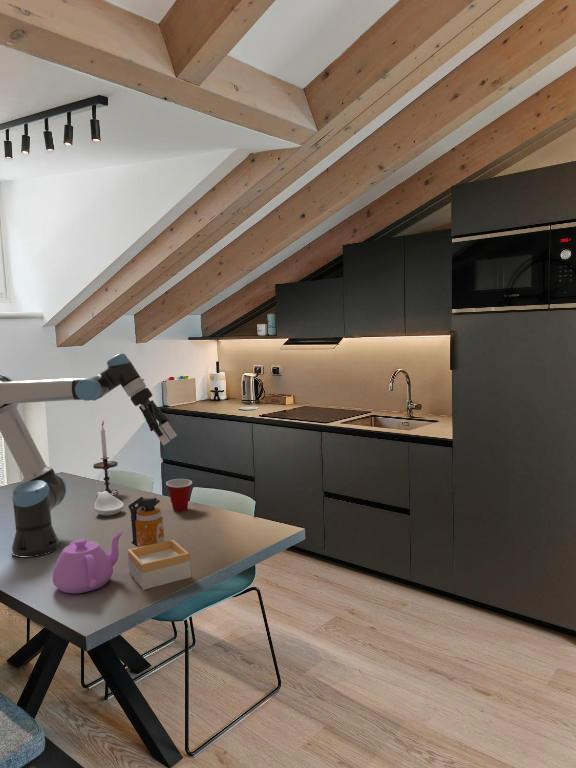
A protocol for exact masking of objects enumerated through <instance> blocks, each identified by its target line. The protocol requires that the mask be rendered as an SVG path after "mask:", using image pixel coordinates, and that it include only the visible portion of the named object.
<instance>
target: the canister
mask: <svg viewBox="0 0 576 768" xmlns="http://www.w3.org/2000/svg"><path fill="white" fill-rule="evenodd" d="M160 502H161V501H160V499H157V497H153V498H150V497H148V498H145V497H143V496H140V497H139V498H137V499H136V500H135V501H133V502H132V503H130V504H129V505H128V509H129V512H130V521H131V532H132V535H131V536H132V541H131V544H132V545H134V546H135V547H136V548H138V547H143V546H147V545H151V544H156V543H160V542H165V541H166V540H165V530H164V518H163V516H162V511H161V509H160V508H159V507H157V505H158V504H159V503H160ZM136 505H137V506H136Z"/></svg>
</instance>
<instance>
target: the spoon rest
mask: <svg viewBox="0 0 576 768" xmlns="http://www.w3.org/2000/svg"><path fill="white" fill-rule="evenodd" d="M102 491H103V492H101V491H97V492H96V494H95V498H94V506H93V507H94V511H95V512H96V513H97V514H99V515H101V516H103V517H109V516H110V515H111V516H114V515H115V516H116V514H118V513H120V512H121V511H122V510H123V508H124V505H125V504H124V502H123V501H122V500H120V499H119V498H117V497H116V496H115V495H114V496H113V495H111V494H110V493H108V492H107V491H104V490H102Z"/></svg>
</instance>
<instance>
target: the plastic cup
mask: <svg viewBox="0 0 576 768" xmlns="http://www.w3.org/2000/svg"><path fill="white" fill-rule="evenodd" d="M165 484H166V486H167V491H168V494H169V497H170V498H169V499H170V503H171V507H172V510H173V511H174V512H176V511H177V513H178V512H179V513H180V511H181V512H184V511H185V512H186V511H187V510H188V508H189V500H190V492H191V491H190V490H191V487H192V484H193V481H192V480H190V479H187V478H174V479H170V480H168V481H166V482H165Z"/></svg>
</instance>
